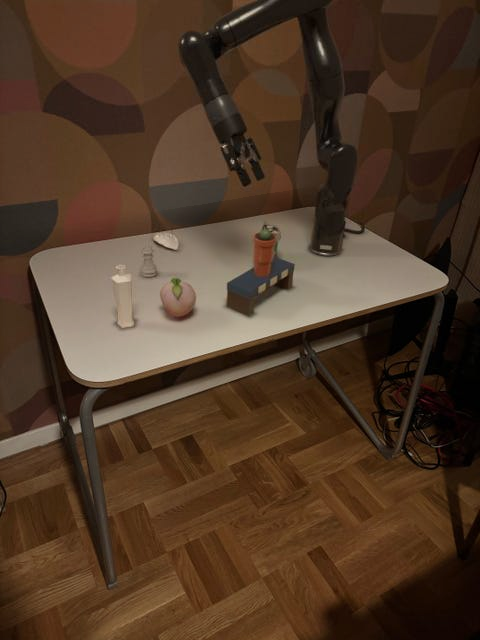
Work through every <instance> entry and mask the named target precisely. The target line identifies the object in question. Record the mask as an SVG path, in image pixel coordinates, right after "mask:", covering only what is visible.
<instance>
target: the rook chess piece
mask: <svg viewBox="0 0 480 640" xmlns="http://www.w3.org/2000/svg"><path fill="white" fill-rule="evenodd" d="M154 252H155V251H154V249H153V247H152V246H151V245H148V246H147V245H145V246H142V250H141V253H142V259H143V262H142V263H143V264H142V266H141V268H140V275H141V276H142V277H144V278H153V277H155V276H156V275H157V274H158V271H157V269H158V268H157V267H156V265H155V263H154V260H153V257H154V255H153V253H154Z"/></svg>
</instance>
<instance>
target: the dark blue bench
mask: <svg viewBox="0 0 480 640" xmlns="http://www.w3.org/2000/svg"><path fill="white" fill-rule="evenodd" d="M295 265H296V264H295V263H293V262H290V261H287V260H285V259H282V258H280V257H277V256H276V257H273V261H272V266H271V275H270V276H267V277H259V276H256V275H255V274H254V267H252V268H250V269H248V270H247V271H245V272H243V273H241V274H240V275H238V276H236V277H234V278H233V279H231V280H229V281H228V282H226V291H227V293H226V307H227V308H229V309H231V310H233V311H236V312H238V313H239V314H242V315H245V316H247V317H251V316H252V315H253V314H254V311H255V299H256V297H258V296H260V295H261V294H262V293H263V294H264V292H266V291H268V290H269V289H271V288H273V287H274V286H277V287H280V288H281V289H285V290H287V291H289V290H290V289H291V288H293V280H294V271H295Z"/></svg>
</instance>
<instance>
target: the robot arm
mask: <svg viewBox="0 0 480 640" xmlns="http://www.w3.org/2000/svg"><path fill="white" fill-rule="evenodd" d="M333 2H334V0H254V1H251V2H249V3H246V4H244V5H241V6H239V7H237V8H235V9H234V10H231V11H230V12H227V13H226V14H224V15H223V16H221V17H219V18H218V19H215V21H214V22H213V23H212V25H211V27H210V28H208V29H207V30H206V31H204V32H201V31H198V30H196V29H189V30H186V31H185V32H183V33H182V34H181V36H180V38H179V40H178V43H177V51H178V57H179V61H180V63H181V65H182V67H183V68H185V69H186V70H187V72H188V74H189V75H190V78H191V80H192V82H193V85H194V89H195V92H196V95H197V97H198V99H199V101H200V103H201V105H202V107H203V109H204V112H205V115H206V118H207V121H208V122H209V125H210V127H211V129H212V131H213V133H214V135H215V137H216V139H217V141H218V144H220V145H222V146H220V148H219V150H220V152H221V154H222V157H223V158H224V161H225V163H226V165H227V168H228V170H229V172H231V173H232V172H234V173H235V174H236V175H237V177H238V179H239V182H240V183H241V185H242V187H243V188H245V187H248V186H249V185H251V184H252V179H251V178H250V176H249V173H248V171H247V169H246V168H245V163H247V164H248V166H250V168H251V169H250V170H251V171H252V174H253V175H254V178H255V180H256V181H257V182H259V181H261V180H263V179H265V178H266V175H265V173H264V171H263V169H262V167H261V165H260V163H261V160H262V156H261V154H260V152H259V150H258V148H257V146H256V144H255V141H254V140H253V138H252V137H251V136H250V137H248V138H246V137H245V134H246V133H247V131H248V127H247V125H246V123H245V121H244V118H243V117H242V116H243V115H242V114H241V112H240V109H239V108H238V105H237V103H236V101H235V100H234V98H233V97H232V95H231V93H230V91H229V88H228V86H227V85H226V82H225V79H224V78H223V76H222V75H221V72H220V70H219V67H218V64H217V61H218V60H219V59H220V58H222V57H223V56H224V55H225V54H227V53H229V52H231V51H233V50H235V49H237V48H238V47H241V46H242V45H244V44H245V43H248V42H250V41H251V40H253V39H254V38H256V37H258V36H260V35H262V34H264V33H267V31H270V30H271V29H273V28H276V27H278V26H280V25H281V24H284V23H287V22H288V21H291V20H293V19H295V18H296V19H297V23H298V26H299V31H300V37H301V38H300V39H301V45H302V46H301V47H302V52H303V59H304V65H305V67H304V68H305V75H306V81H307V87H308V94H309V98H310V104H311V109H312V111H311V112H312V116H313V117H312V118H313V122H314V131H315V148H316V160H317V163H318V164H319V166H320V167H321V169H323V170H325V171H327V176H326V180H325V182H323V183H320V184H319V185H318V187H317V191H316V199H315V208H314V213H313V222H312V230H311V238H310V244H309V251H311V252H312V253H313V254H316V255H319V256H324V257H332V256H333V257H334V256H336V255H339V254H340V251H341V250H342V246H343V241H344V237H345V232H348V233H352V234H362V233H364V232H365V230H366V226H365V222H364V221H362V220H361V221H360V222H359V225H360V226H361V229H360V230H355V229H350V228H347V227H346V225H347V224H346V223H347V222H346V216H347V215H346V214H347V209H348V202H349V197H350V194H351V192H352V190H353V188H354V185H355V180H356V175H357V171H358V166H359V161H360V159H359V150H358V149H357V147H356V146H355V145H353V144H351V143H350V142H348V141H346V140H343V137H342V132H341V127H340V126H341V125H340V112H341V108H342V105H343V102H344V97H345V90H346V84H345V75H344V67H343V62H342V58H341V55H340V53H339V49H338V46H337V44H336V41H335V39H334V36H333V34H332V31H331V28H330V24H329V19H328V8H327V7H328V6H329V5H331V4H332V3H333Z"/></svg>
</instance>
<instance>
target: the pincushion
mask: <svg viewBox="0 0 480 640" xmlns="http://www.w3.org/2000/svg"><path fill="white" fill-rule="evenodd" d="M172 228H173V226H172V225H171V228H170V230H171V233H170V232H160V228H159V227H158V232H157V233H156V234H155V235H154V236H153V238H152V239H153V240H154V242H156V243H158V244H159V245H162V246H163V247H165V248H168V249H171V250H174V251H177V250H178V248H179V246H180V243H179V240H178V239H177V237H176V236H175V235H174V232H173V229H172Z"/></svg>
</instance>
